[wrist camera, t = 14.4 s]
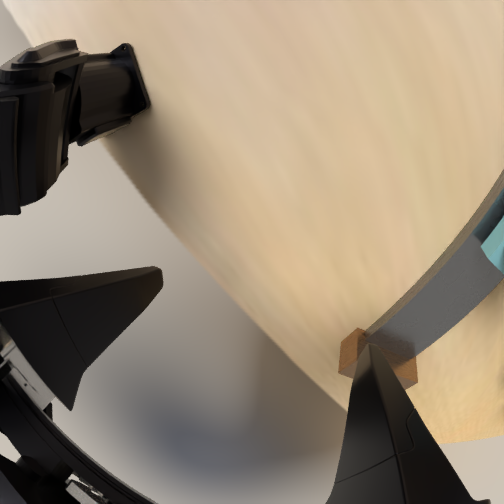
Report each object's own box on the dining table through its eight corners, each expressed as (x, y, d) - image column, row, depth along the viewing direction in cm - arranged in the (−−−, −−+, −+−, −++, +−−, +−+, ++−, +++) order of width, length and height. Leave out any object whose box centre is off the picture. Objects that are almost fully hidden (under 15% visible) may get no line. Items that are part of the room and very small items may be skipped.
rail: (398, 365, 27) (398, 393, 24) (341, 342, 27) (338, 373, 24) (571, 171, 8) (595, 190, 5) (527, 99, 8) (558, 109, 5)
